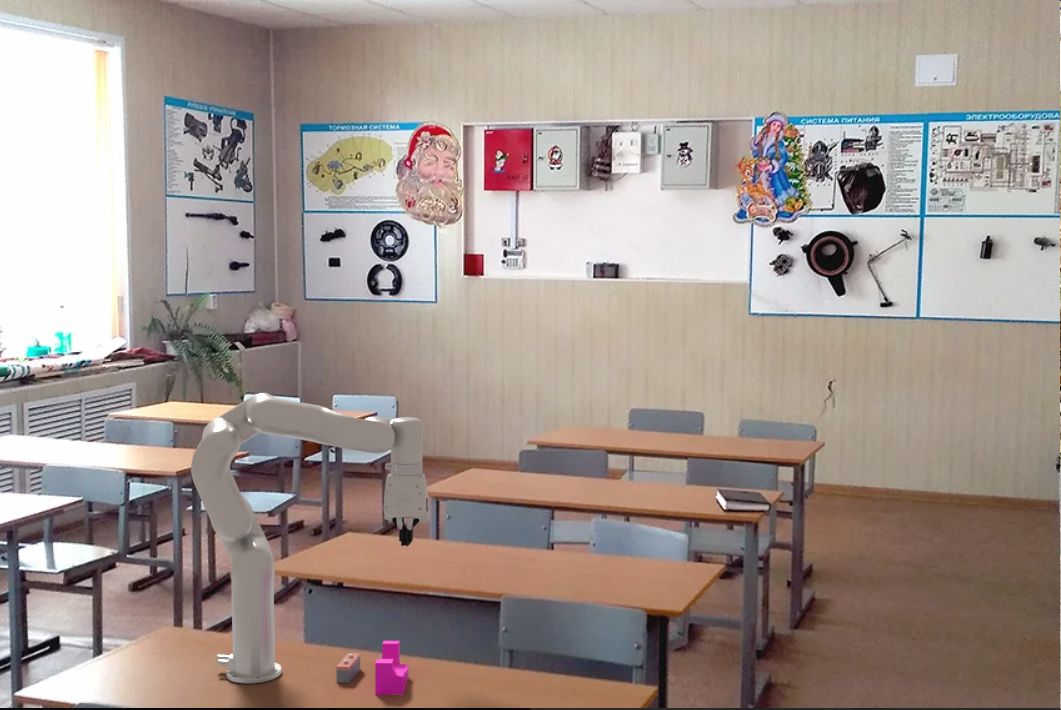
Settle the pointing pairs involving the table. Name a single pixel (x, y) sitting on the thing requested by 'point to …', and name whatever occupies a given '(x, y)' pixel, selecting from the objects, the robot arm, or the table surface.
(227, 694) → the table surface
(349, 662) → the block
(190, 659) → the table surface
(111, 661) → the table surface
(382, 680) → the magenta curved block
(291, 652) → the table surface
